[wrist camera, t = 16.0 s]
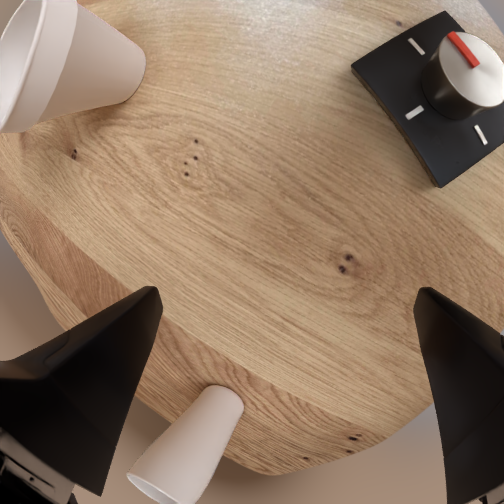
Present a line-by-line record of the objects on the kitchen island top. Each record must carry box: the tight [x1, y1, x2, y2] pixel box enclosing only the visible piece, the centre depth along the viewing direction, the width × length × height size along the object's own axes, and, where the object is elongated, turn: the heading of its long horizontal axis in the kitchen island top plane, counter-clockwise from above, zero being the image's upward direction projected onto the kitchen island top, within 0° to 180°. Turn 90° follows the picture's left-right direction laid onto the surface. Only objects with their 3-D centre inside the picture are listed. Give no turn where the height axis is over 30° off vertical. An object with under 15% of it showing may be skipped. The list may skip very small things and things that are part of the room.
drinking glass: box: [126, 385, 244, 504], centre depth 23 cm, size 7×7×15 cm
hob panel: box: [351, 11, 504, 188], centre depth 13 cm, size 10×10×2 cm
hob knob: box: [421, 31, 504, 120], centre depth 10 cm, size 4×4×5 cm
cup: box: [0, 0, 146, 133], centre depth 16 cm, size 12×12×14 cm
